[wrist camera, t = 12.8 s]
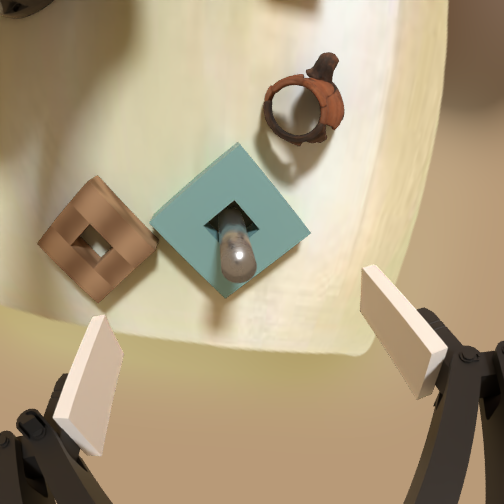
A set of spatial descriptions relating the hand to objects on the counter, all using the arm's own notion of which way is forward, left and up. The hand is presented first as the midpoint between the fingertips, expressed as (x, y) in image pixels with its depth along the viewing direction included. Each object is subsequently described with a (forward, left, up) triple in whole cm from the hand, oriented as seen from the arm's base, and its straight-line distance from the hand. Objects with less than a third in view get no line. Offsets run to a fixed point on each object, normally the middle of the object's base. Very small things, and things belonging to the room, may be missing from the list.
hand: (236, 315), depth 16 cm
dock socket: (+4, -2, -27) cm, 27 cm away
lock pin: (+4, -2, -27) cm, 27 cm away
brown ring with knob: (-2, +15, -27) cm, 31 cm away
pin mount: (-6, -17, -27) cm, 32 cm away
